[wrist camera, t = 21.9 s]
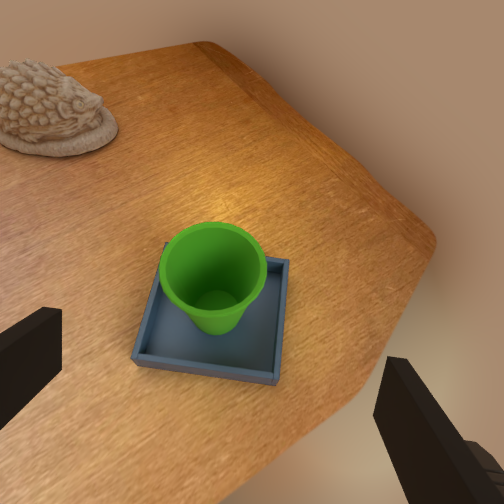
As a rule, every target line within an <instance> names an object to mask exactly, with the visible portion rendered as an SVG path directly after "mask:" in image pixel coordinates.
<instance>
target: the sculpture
mask: <svg viewBox="0 0 504 504" xmlns="http://www.w3.org/2000/svg"><path fill="white" fill-rule="evenodd" d="M103 103H104V100H103V98H102V97H101V96H99V95H97V94H94V93H91V92H90V91H89V90H87V89H86V88H84V87H83V86H82V85H81V84H79V83H78V82H77V81H76V80H75V79H74V78H73V77H70V76H66V75H65V74H64V73H63V72H61V71H60V70H59V69H57V68H56V67H54V66H53V67H49V66H48V65H47V64H45V63H43V62H39V63H37V62H36V61H33V60H31V59H25V62H23V63H20V62H18V61H10V62H9V67H0V143H1V144H3V145H4V146H5V147H7V148H10V149H12V150H18V151H20V152H21V153H26V154H39V155H43V156H53V157H55V156H58V157H61V156H72V155H79V154H82V153H85V152H89V151H92V150H95V149H98V148H100V147H102V146H103V145H105V144H107V143H109V142H110V141H111V140H112V139H113V138H114V137H115V136H116V135H117V131H118V126H117V123H116V121H115V118H114V117H113V115H112V114H111V112H110V111H109V110H108V109H107V108H105V107H103V106H102V105H103Z"/></svg>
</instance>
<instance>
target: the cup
mask: <svg viewBox="0 0 504 504" xmlns="http://www.w3.org/2000/svg"><path fill="white" fill-rule="evenodd" d="M158 270H159V281H160V283H161V286H162V289H163V291H164V293H165V294H166V295H167V297H168V298H169V299H170V301H171V302H172V303H173V304H175V305H176V306H177V307H179V308H180V309H181V310H183V311H185V313H186V314H187V315H188V316H189V318H190V319H191V320H192V321H193V322H194V324H195V325H196V326H197V327H198V328H199V329H200V330H201V331H202V332H204V333H207V334H210V335H222V334H225V333H227V332H229V331H231V330H232V329H233V328H234V327H235V326H236V325H237V323H238V322H239V320H240V318H241V316H242V315H243V313H244V311H245V310H246V308H247V306H248V305H249V304H250V303H251V302H252V301H254V300H255V299H256V298H257V296H258V295H259V293H260V292H261V290H262V288H263V287H264V283H265V280H266V277H267V262H266V258H265V254H264V252H263V250H262V248H261V246H260V245H259V243H258V242H257V241H256V240H255V239H254V238H253V237H252V236H251V235H250V234H249V233H248V232H246V231H245V230H243V229H241V228H239V227H237V226H234V225H232V224H228V223H222V222H205V223H200V224H196V225H193V226H191V227H189V228H186V229H184V230H183V231H181V232H180V233H179V234H177V235H176V236H175V237H174V238H173V239H172V240H171V241H170V242H169V243H168V245H167V246H166V247H165V249H164V251H163V253H162V255H161V258H160V263H159V268H158Z"/></svg>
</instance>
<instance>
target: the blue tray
mask: <svg viewBox="0 0 504 504" xmlns="http://www.w3.org/2000/svg"><path fill="white" fill-rule="evenodd" d="M167 245H168V242H165V246H164V249H165V247H166V246H167ZM164 249H163V251H164ZM162 253H163V252H162ZM265 258H266V262H267V277H266V280H265V283H264V287H263V288H262V290H261V292H260V293H259V295H258V296H257V298H256V299H255V300H254V301H252V302H251V303H250V304H249V305H248V306H247V308H246V310H245V311H244V313H243V315H242V316H241V318H240V320H239V322H238V323H237V325H236V326H235V327H234V328H233V329H232V330H231V331H229V332H227V333H225V334H222V335H210V334H207V333H204V332H202V331H201V330H200V329H199V328H198V327H197V326H196V325H195V324H194V322H193V321H192V320H191V319H190V318H189V316H188V315H187V314H186V313H185V311H183V310H181V309H180V308H179V307H177V306H176V305H175V304H173V303H172V302H171V301H170V299H169V298H168V297H167V295H166V294H165V293H164V291H163V289H162V286H161V283H160V281H159V270H158V269H157V272H156V275H155V279H154V282H153V285H152V289H151V292H150V295H149V299H148V302H147V305H146V309H145V312H144V315H143V319H142V322H141V325H140V328H139V332H138V335H137V338H136V342H135V345H134V348H133V352H132V355H131V359H132V360H133V362H134V363H135V364H136V365H137V366H142V367H149V368H155V369H162V370H169V371H176V372H183V373H190V374H197V375H203V376H210V377H217V378H224V379H231V380H238V381H245V382H251V383H258V384H265V385H272V386H276V384H277V383H278V381H279V378H280V366H281V354H282V342H283V330H284V318H285V306H286V294H287V282H288V271H289V260H288V259H281V258H274V257H267V256H265ZM159 263H160V262H159ZM158 268H159V266H158Z"/></svg>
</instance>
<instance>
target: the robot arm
mask: <svg viewBox="0 0 504 504" xmlns="http://www.w3.org/2000/svg"><path fill="white" fill-rule="evenodd" d="M61 370H62V309H56V308H49V307H42V308H40V309H39V310H37V311H35V312H34V313H32V314H31V315H29V316H27V317H26V318H24V319H23V320H21V321H19V322H18V323H16V324H15V325H13V326H11V327H10V328H8V329H7V330H5V331H3V332H2V333H0V430H1V429H2V428H3V427H4V426H5V425H6V424H7V423H8V422H9V421H10V420H11V419H12V418H13V417H14V416H15V415H16V414H17V413H18V412H19V411H20V410H21V409H23V408H24V407H25V406H26V405H27V404H28V403H29V402H30V401H31V400H32V399H33V398H34V397H35V396H36V395H37V394H38V393H39V392H40V391H41V390H42V389H43V388H44V387H45V386H46V385H47V384H48V383H49V382H50V381H51V380H52V379H53V378H54V377H55V376H56V375H57V374H58V373H59V372H60V371H61ZM373 417H374V419H375V422H376V424H377V427H378V429H379V432H380V434H381V437H382V439H383V441H384V444H385V447H386V449H387V452H388V454H389V456H390V459H391V461H392V464H393V466H394V468H395V471H396V473H397V476H398V479H399V481H400V483H401V486H402V488H403V491H404V493H405V496H406V498H407V500H408V503H409V504H504V471H503V469H502V468H501V467H500V465H499V464H498V463H497V461H496V460H495V459H494V457H493V456H492V455H491V454H489V453H488V452H487V451H486V450H485V449H483V448H482V447H481V446H480V445H479V444H478V443H476V442H472V441H466V440H463V438H462V437H461V435H460V434H459V432H458V431H457V430H456V428H455V427H454V425H453V424H452V422H451V421H450V420H449V418H448V417H447V415H446V414H445V413H444V411H443V410H442V408H441V407H440V405H439V404H438V403H437V401H436V400H435V398H434V397H433V395H432V394H431V393H430V391H429V390H428V388H427V387H426V385H425V384H424V383H423V381H422V380H421V378H420V377H419V376H418V374H417V373H416V371H415V370H414V368H413V367H412V365H411V364H410V363H409V361H408V360H407V359H404V358H397V357H390V356H387V360H386V364H385V369H384V372H383V377H382V381H381V385H380V389H379V393H378V397H377V401H376V405H375V409H374V413H373Z"/></svg>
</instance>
